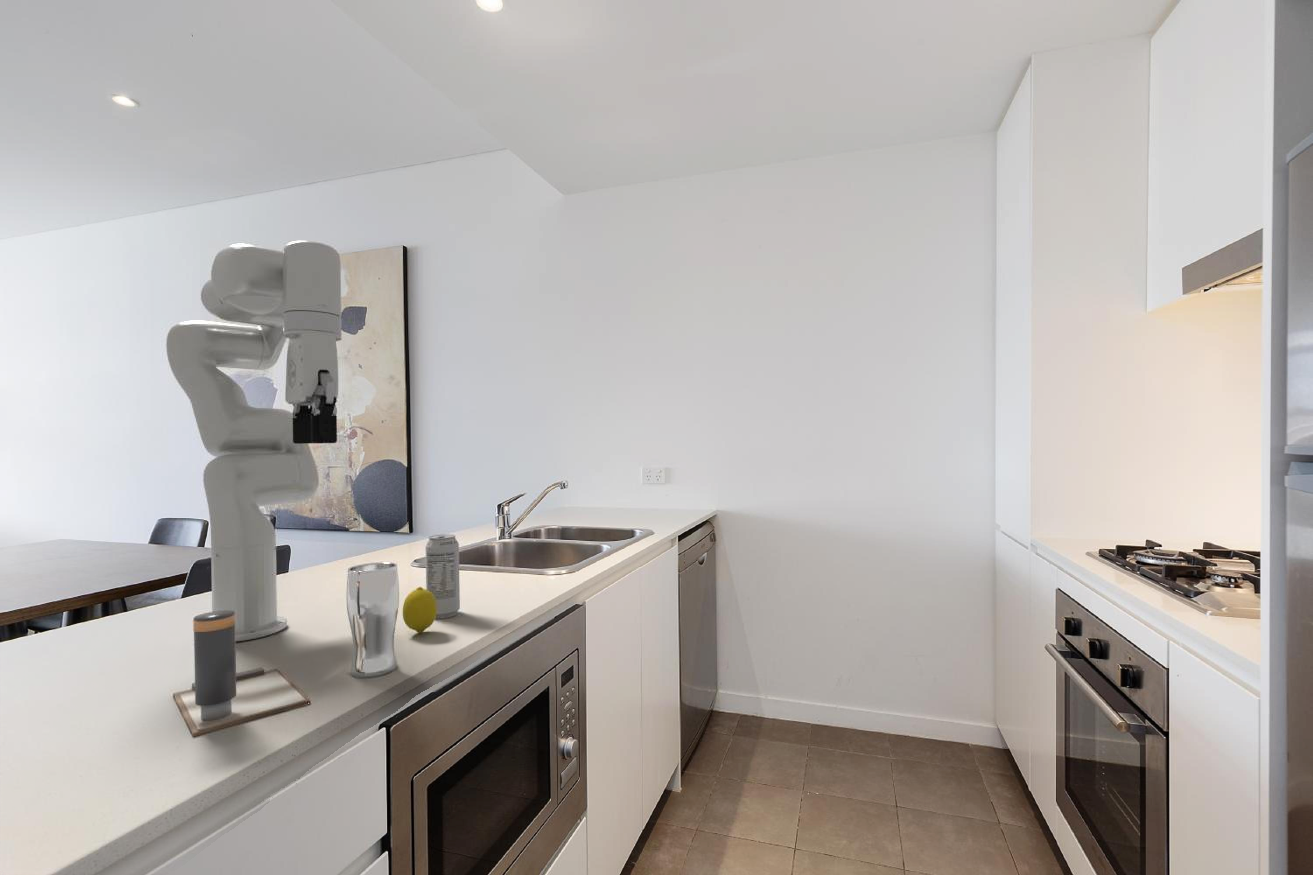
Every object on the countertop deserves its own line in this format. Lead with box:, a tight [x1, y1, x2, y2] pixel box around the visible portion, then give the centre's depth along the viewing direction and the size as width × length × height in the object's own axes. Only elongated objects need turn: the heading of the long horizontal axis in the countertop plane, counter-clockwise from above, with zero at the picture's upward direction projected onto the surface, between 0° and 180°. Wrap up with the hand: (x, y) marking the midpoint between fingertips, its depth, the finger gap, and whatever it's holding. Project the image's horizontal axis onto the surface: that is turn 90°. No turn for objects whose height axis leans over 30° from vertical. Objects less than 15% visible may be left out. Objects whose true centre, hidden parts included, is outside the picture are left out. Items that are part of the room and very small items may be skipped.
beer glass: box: [345, 561, 400, 679], centre depth 89 cm, size 7×7×15 cm
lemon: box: [402, 586, 437, 634], centre depth 106 cm, size 6×6×8 cm
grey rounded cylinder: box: [192, 610, 237, 721], centre depth 73 cm, size 4×4×12 cm
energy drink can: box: [425, 534, 461, 619], centre depth 117 cm, size 6×6×15 cm
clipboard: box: [172, 666, 311, 738], centre depth 79 cm, size 16×12×1 cm
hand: (314, 443), depth 91 cm, fingers open, 9 cm apart
